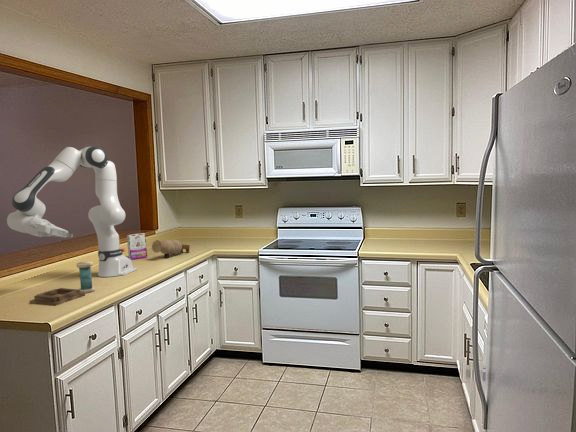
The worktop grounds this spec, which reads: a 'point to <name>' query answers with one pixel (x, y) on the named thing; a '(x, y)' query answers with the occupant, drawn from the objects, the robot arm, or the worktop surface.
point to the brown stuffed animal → (169, 247)
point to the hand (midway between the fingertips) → (67, 234)
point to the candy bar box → (137, 246)
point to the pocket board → (57, 296)
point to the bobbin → (85, 277)
